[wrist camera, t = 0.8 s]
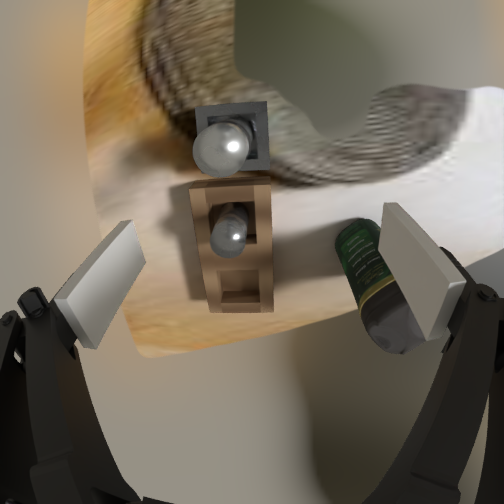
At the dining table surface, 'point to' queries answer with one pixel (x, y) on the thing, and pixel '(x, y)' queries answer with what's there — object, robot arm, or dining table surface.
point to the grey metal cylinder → (223, 147)
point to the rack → (254, 254)
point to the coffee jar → (377, 290)
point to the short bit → (230, 230)
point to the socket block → (250, 113)
